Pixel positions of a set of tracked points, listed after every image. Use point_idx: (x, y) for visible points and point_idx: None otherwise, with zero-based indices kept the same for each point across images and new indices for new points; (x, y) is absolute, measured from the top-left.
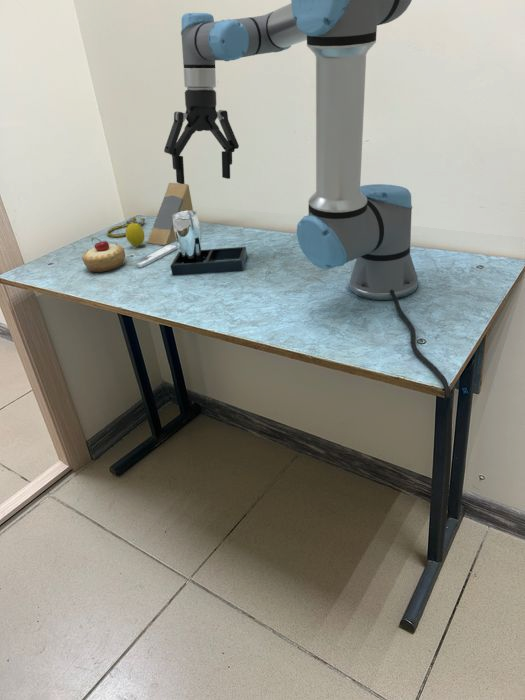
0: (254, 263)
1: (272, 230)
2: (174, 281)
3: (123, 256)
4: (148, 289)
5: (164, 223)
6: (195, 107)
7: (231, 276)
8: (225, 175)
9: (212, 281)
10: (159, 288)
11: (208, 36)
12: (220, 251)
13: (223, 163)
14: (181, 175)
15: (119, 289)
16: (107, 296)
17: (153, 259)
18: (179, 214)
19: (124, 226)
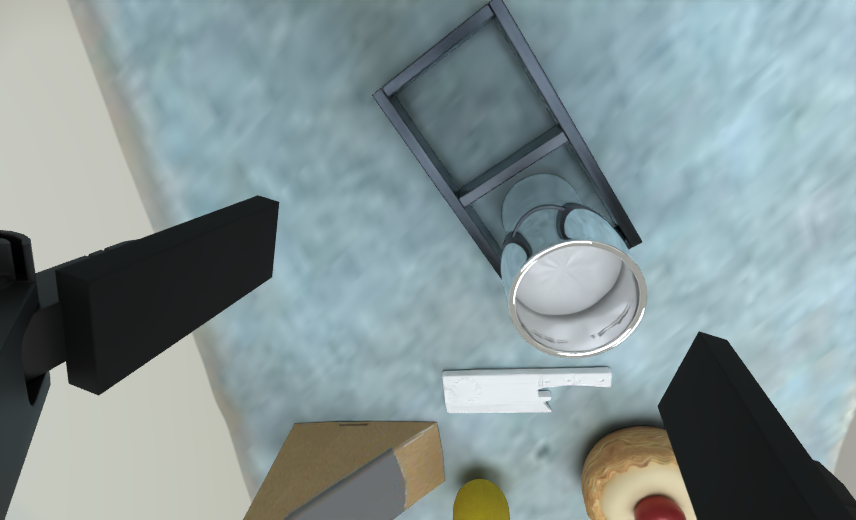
0: (418, 12)
1: (153, 185)
2: (669, 186)
3: (622, 441)
4: (756, 222)
5: (385, 489)
6: None
7: (558, 5)
8: (264, 240)
9: (624, 45)
10: (738, 192)
11: None
12: (442, 173)
13: (197, 304)
14: (755, 385)
15: (780, 311)
16: (840, 306)
17: (553, 371)
18: (551, 346)
19: None
